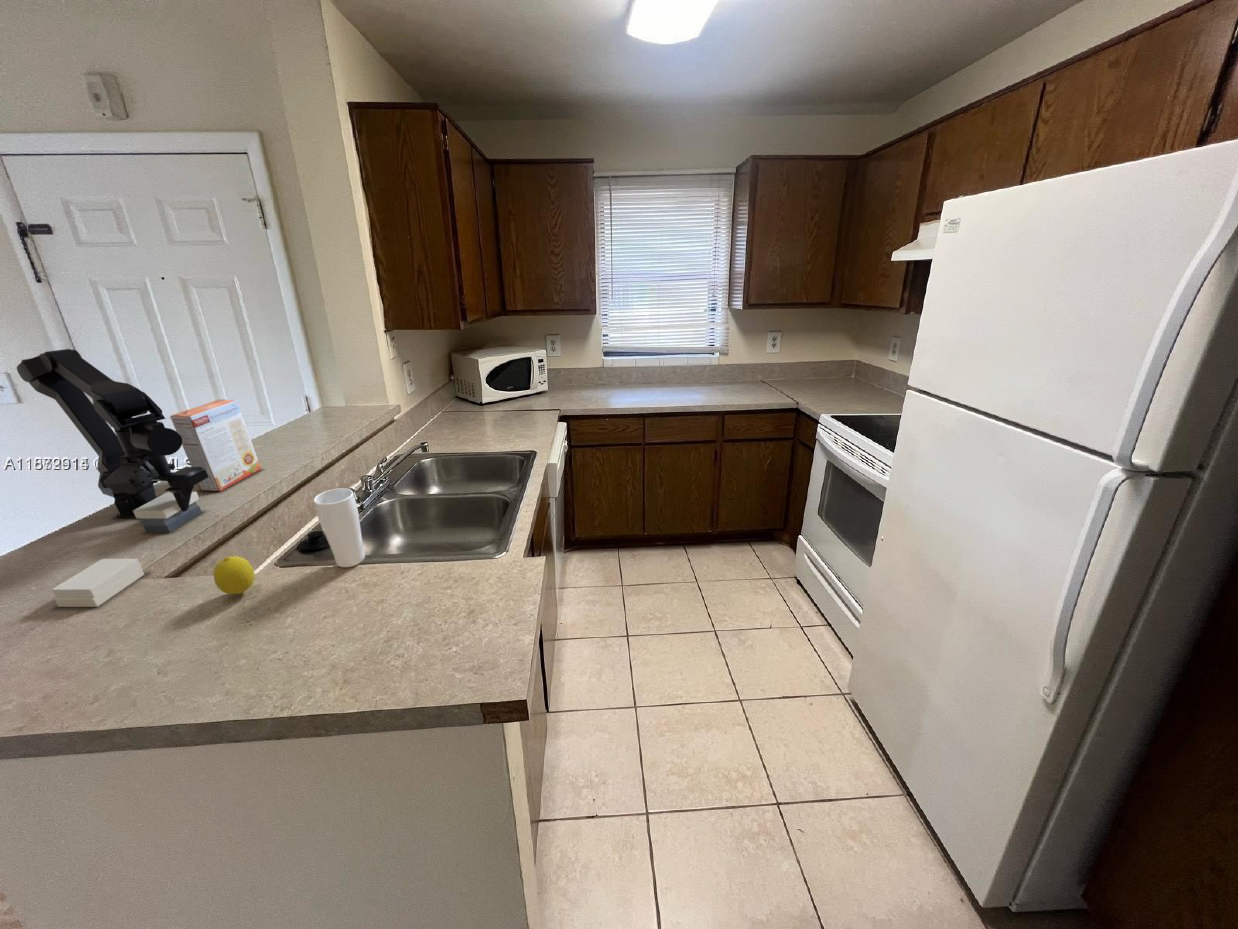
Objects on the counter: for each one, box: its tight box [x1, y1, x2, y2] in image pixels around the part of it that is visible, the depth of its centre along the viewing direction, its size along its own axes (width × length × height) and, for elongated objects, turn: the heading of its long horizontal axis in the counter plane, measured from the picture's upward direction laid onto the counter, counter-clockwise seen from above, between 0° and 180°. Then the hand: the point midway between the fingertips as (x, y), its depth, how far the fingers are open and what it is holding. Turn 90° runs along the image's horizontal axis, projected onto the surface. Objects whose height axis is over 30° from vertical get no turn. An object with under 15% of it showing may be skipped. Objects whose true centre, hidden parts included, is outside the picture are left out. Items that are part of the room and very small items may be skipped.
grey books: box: [139, 501, 202, 534], centre depth 108 cm, size 9×5×4 cm, turn 1°
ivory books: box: [51, 558, 145, 608], centre depth 86 cm, size 9×7×4 cm
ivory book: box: [133, 491, 200, 520], centre depth 107 cm, size 9×7×2 cm
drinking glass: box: [313, 487, 366, 568], centre depth 93 cm, size 7×7×15 cm
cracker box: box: [169, 398, 262, 492], centre depth 125 cm, size 14×6×21 cm, turn 174°
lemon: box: [213, 555, 255, 595], centre depth 85 cm, size 6×6×8 cm
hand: (170, 510), depth 108 cm, fingers closed on ivory book, 6 cm apart
